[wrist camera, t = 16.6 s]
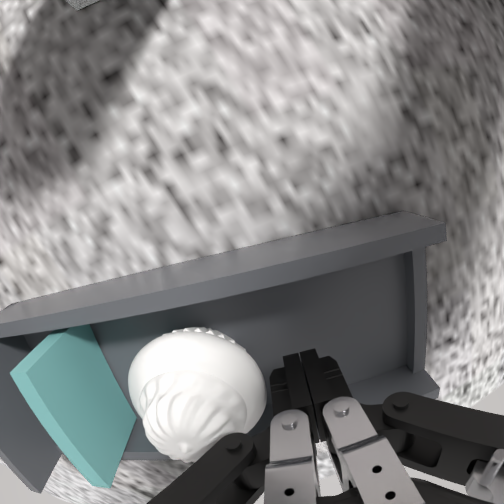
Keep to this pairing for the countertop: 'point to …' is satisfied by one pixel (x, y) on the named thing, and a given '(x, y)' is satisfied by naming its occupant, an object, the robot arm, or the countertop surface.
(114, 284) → the pusher lane
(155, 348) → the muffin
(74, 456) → the teal flat slab
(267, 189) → the countertop surface
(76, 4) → the supplement box
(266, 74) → the countertop surface
